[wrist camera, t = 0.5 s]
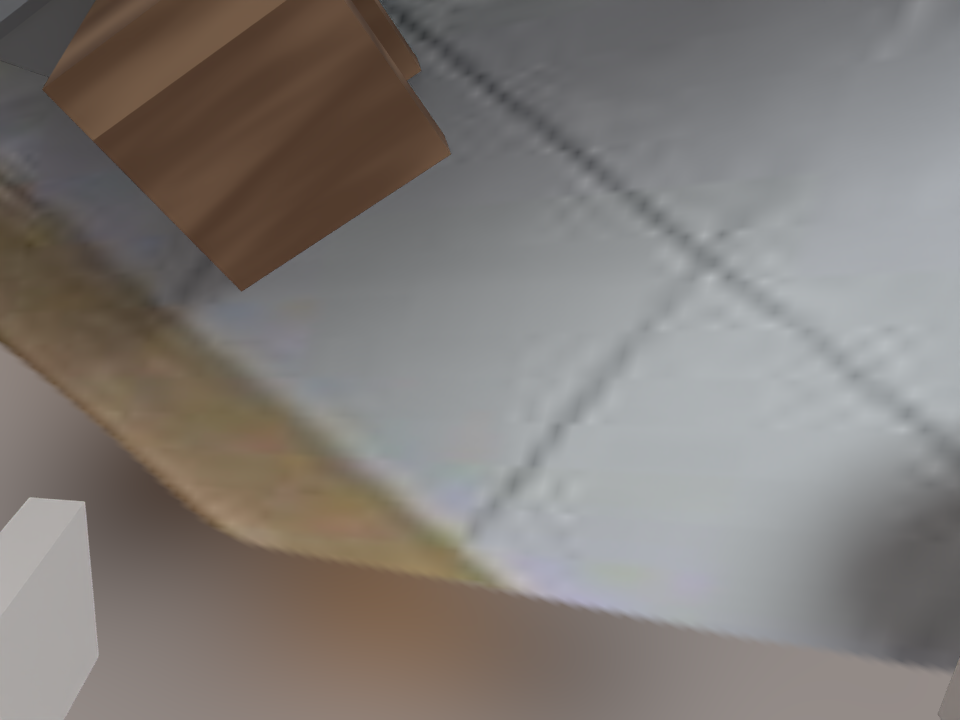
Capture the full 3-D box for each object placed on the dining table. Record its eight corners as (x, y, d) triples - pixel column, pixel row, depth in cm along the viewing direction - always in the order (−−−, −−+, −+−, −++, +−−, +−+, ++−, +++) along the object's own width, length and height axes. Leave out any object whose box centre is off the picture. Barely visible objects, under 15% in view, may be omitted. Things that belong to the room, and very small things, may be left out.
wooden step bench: (492, 186, 38) (402, 117, 25) (320, 296, 40) (151, 286, 27) (337, -77, 39) (171, -278, 26) (175, 42, 41) (-58, -89, 27)
